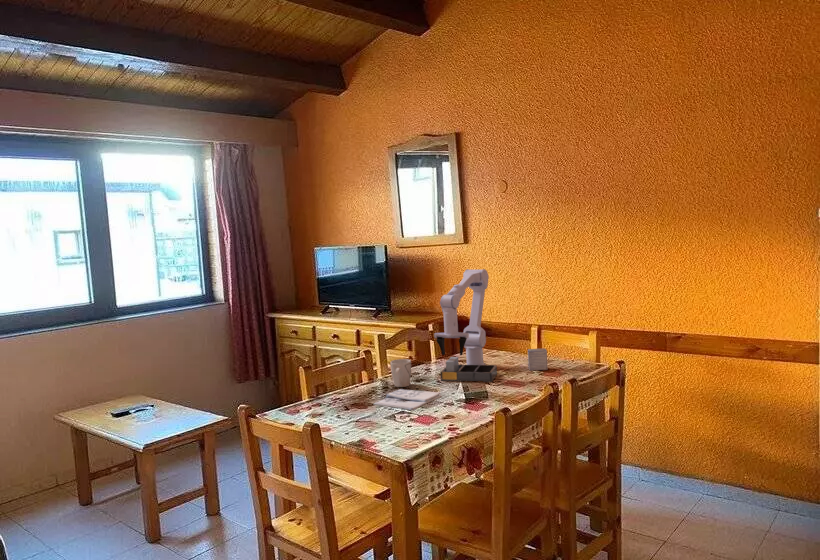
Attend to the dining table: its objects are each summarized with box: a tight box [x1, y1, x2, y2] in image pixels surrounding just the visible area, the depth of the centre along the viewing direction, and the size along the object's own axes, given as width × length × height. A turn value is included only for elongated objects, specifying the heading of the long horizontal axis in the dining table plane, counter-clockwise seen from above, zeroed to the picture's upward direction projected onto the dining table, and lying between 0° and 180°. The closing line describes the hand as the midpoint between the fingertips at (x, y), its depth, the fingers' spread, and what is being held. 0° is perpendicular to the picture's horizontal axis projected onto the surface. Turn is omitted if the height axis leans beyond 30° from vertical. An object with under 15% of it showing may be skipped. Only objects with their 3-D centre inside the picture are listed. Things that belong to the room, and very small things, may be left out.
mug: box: [390, 358, 412, 388], centre depth 249 cm, size 11×8×10 cm
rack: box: [440, 364, 498, 383], centre depth 258 cm, size 14×21×4 cm, turn 73°
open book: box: [373, 388, 442, 411], centre depth 229 cm, size 19×20×2 cm
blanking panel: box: [445, 356, 460, 372], centre depth 259 cm, size 9×3×7 cm, turn 163°
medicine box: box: [527, 348, 549, 371], centre depth 265 cm, size 8×4×9 cm, turn 84°
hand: (452, 354), depth 259 cm, fingers open, 7 cm apart
